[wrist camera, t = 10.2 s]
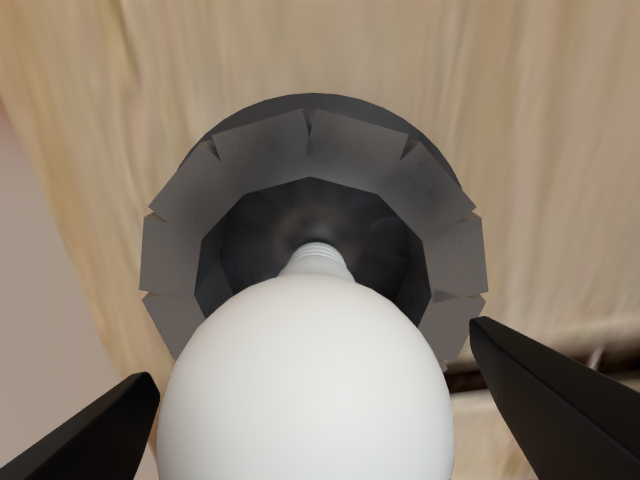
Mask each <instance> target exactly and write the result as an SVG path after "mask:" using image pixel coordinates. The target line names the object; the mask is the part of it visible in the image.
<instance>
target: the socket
mask: <svg viewBox="0 0 640 480" xmlns="http://www.w3.org/2000/svg"><path fill="white" fill-rule="evenodd" d="M148 207H149V208H150V209H152V210H153V211H154V212H153V213H151V214H149V215H147V216H145V217H144V223H143V239H142V255H141V270H140V286H139V290H143V291H148V292H149V293H148V294H147V295H146V296H145V297H144V298H143V299H142V301H143V303H144V305H145V307H146V309H147V310H148V312H149V314H150V316H151V318H152V320H153V321H154V323H155V325H156V327H157V329H158V331H159V332H160V334H161V336H162V338H163V340H164V342H165V343H166V345H167V347H168V349H169V351H170V353H171V354H172V356H173V358H174V359H177V358H179V356H180V354H181V353H182V351H183V349H184V348H185V346H186V345H187V343H188V342H189V340H190V339H191V337H192V335H193V334H194V332H195V331H196V329H197V328H198V327H199V326H200V325H201V324H202V323H203V322H204V321H205V320H206V319H207V318H208V317H209V316H210V315H211V314H212V313H214V312H215V311H216V310H217V309H218V308H219V307H220V306H221V305H223V304H224V303H225V302H226V301H227V300H228V299H230V298H231V297H233V296H235V295H236V294H238V293H240V292H241V291H243V290H244V289H246V288H248V287H250V286H253V285H255V284H258V283H261V282H264V281H266V280H269V279H272V278H276V277H277V276H278V274H279V273H280V272H281V270H282V269H283V268H284V267H285V266H286V265H287V264H288V261H289V259H290V258H291V256H292V254H293V253H294V252H295V251H296V250H297V249H298V248H299V247H301V246H303V245H305V244H308V243H313V242H320V243H325V244H328V245H330V246H332V247H334V248H335V249H336V250H337V251H338V252H339V253H340V254H341V256H342V257H343V259H344V262H345V264H346V267H347V270H348V271H349V272H350V273H351V275H352V276H353V278H354V280H355V283H358V284H360V285H363V286H365V287H368V288H370V289H372V290H374V291H375V292H377V293H378V294H380V295H382V296H383V297H385V298H386V299H388V300H389V301H391V302H392V303H393V304H394V305H395V306H396V307H397V308H398V309H399V310H400V311H401V312H402V313H403V314H404V315H405V316H407V318H408V319H409V320H410V321H411V322H412V323H413V324H414V325H415V326H416V328H417V329H418V330H419V331H420V332H421V334H422V335H423V337H424V338H425V340H426V341H427V343H428V344H429V346H430V348H431V349H432V351H433V353H434V355H435V357H436V359H437V361H438V364H439V366H440V368H441V370H442V373H443V372H444V371H446V370H447V367H446V365H445V363H444V361H443V360H448V361H452V362H455V360H456V358H457V356H458V354H459V352H460V350H461V349H462V347H463V345H464V343H465V341H466V339H467V337H468V335H469V320H470V319H471V318H476V317H478V316H479V314H480V313H481V311H482V309H483V307H484V305H485V303H486V301H485V300H484V299H483V298H482V296H481V295H480V293H484V292H488V283H487V273H486V263H485V252H484V242H483V232H482V221H481V217H479V216H478V215H476V214H475V213H473V212H472V210H473V209H475V208H476V206H475V205H474V203H473V202H472V201H471V200H470V199H469V198H468V196H467V195H466V194H465V193H464V192H463V191H462V188H461V185H460V183H459V181H458V179H457V177H456V175H455V173H454V172H453V170H452V168H451V166H450V165H449V163H448V162H447V160H446V159H445V158H444V156H443V155H442V154H441V152H440V151H439V150H438V148H437V147H436V146H435V145H434V144H433V143H432V142H431V141H430V140H429V139H428V138H427V137H426V136H425V135H424V134H423V133H422V132H420V131H419V130H418V129H416V128H415V127H414V126H412V125H411V124H410V123H408V122H407V121H406V120H404V119H403V118H401V117H399V116H397V115H395V114H394V113H392V112H390V111H388V110H386V109H384V108H382V107H380V106H377V105H374V104H371V103H369V102H366V101H363V100H361V99H356V98H351V97H346V96H342V95H337V94H322V93H305V94H293V95H286V96H281V97H277V98H272V99H268V100H264V101H262V102H259V103H257V104H254V105H251V106H249V107H246V108H244V109H242V110H240V111H238V112H237V113H235V114H233V115H231V116H229V117H228V118H226V119H224V120H223V121H221V122H220V123H219V124H218V125H216V126H215V127H214V128H212V129H211V130H210V131H209V132H207V133H206V134H205V135H204V136H203V137H202V138H201V139H200V140H199V141H198V143H197V144H196V145H195V146H194V147H193V148H192V149H191V150H190V152H189V153H188V154H187V156H186V157H185V159H184V160H183V162H182V163H181V165H180V166H179V168H178V170H177V172H176V173H175V174H174V175H173V177H172V178H171V179H170V180H169V182H168V183H167V184H166V185H165V186H164V188H163V189H162V190H161V191H160V193H159V194H158V195H157V196H156V197H155V199H154V200H153V201H152V202H151V204H150V205H149V206H148Z"/></svg>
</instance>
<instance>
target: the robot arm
mask: <svg viewBox="0 0 640 480" xmlns="http://www.w3.org/2000/svg"><path fill="white" fill-rule="evenodd" d="M469 334H470V346H471V350H472V353H473V355H474V357H475V360H476V362H477V364H478V366H479V369H480V371H481V373H482V375H483V377H484V380H485V382H486V384H487V386H488V388H489V391H490V393H491V395H492V397H493V399H494V402H495V404H496V406H497V408H498V410H499V412H500V413H501V415H502V417H503V419H504V421H505V422H506V424H507V426H508V427H509V429H510V431H511V432H512V434H513V436H514V438H515V439H516V441H517V443H518V444H519V446H520V448H521V450H522V451H523V453H524V455H525V456H526V458H527V460H528V461H529V463H530V465H531V467H532V468H533V470H534V472H535V473H536V475H537V477H538V479H539V480H640V393H639V392H637V391H635V390H633V389H631V388H629V387H627V386H625V385H623V384H621V383H619V382H617V381H615V380H613V379H611V378H609V377H607V376H605V375H603V374H601V373H599V372H597V371H595V370H593V369H591V368H589V367H587V366H585V365H583V364H581V363H579V362H577V361H575V360H573V359H571V358H569V357H567V356H565V355H563V354H561V353H559V352H557V351H555V350H553V349H551V348H549V347H547V346H545V345H543V344H541V343H539V342H537V341H535V340H533V339H531V338H529V337H527V336H525V335H523V334H521V333H519V332H517V331H515V330H513V329H511V328H509V327H507V326H505V325H503V324H501V323H499V322H497V321H495V320H493V319H491V318H489V317H487V316H482V317H476V318H471V319H470V320H469ZM159 402H160V392H159V390H158V388H157V386H156V384H155V383H154V381H153V379H152V377H151V375H150V374H149V373H148V372H140V373H135V374H132V375H130V376H129V377H127V378H126V379H125V380H123V381H122V382H120V383H119V384H118V385H116V386H115V387H113V388H112V389H111V390H109V391H108V392H106V393H105V394H104V395H102V396H101V397H99V398H98V399H97V400H95V401H94V402H92V403H91V404H90V405H88V406H87V407H85V408H84V409H83V410H82V411H80V412H78V413H77V414H76V415H74V416H73V417H72V418H70V419H69V420H67V421H66V422H65V423H63V424H62V425H60V426H59V427H58V428H56V429H55V430H53V431H52V432H51V433H49V434H48V435H46V436H45V437H44V438H42V439H41V440H40V441H38V442H37V443H35V444H34V445H33V446H31V447H30V448H28V449H27V450H25V451H24V452H23V453H21V454H20V455H19V456H17V457H16V458H14V459H13V460H12V461H10V462H9V463H7V464H6V465H5V466H3V467H2V468H0V480H133V479H134V477H135V474H136V472H137V469H138V467H139V464H140V461H141V459H142V456H143V453H144V450H145V447H146V444H147V441H148V438H149V435H150V431H151V428H152V425H153V422H154V419H155V415H156V412H157V409H158V406H159Z"/></svg>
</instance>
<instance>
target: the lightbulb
mask: <svg viewBox="0 0 640 480" xmlns="http://www.w3.org/2000/svg"><path fill="white" fill-rule="evenodd" d="M156 460H157V467H158V475H159V480H451V475H452V471H453V467H454V423H453V412H452V407H451V401H450V396H449V391H448V388H447V385H446V382H445V379H444V376H443V373H442V370H441V368H440V366H439V364H438V361H437V359H436V357H435V355H434V353H433V351H432V349H431V348H430V346H429V344H428V343H427V341H426V340H425V338H424V337H423V335H422V334H421V332H420V331H419V330H418V329H417V328H416V326H415V325H414V324H413V323H412V322H411V321H410V320H409V319H408V318H407V316H405V315H404V314H403V313H402V312H401V311H400V310H399V309H398V308H397V307H396V306H395V305H394V304H393V303H392V302H391V301H389V300H388V299H386V298H385V297H383V296H382V295H380V294H378V293H377V292H375V291H374V290H372V289H370V288H368V287H365V286H363V285H360V284H358V283H355V280H354V278H353V276H352V275H351V273H350V272H349V271H348V270H347V267H346V264H345V262H344V259H343V257H342V256H341V254H340V253H339V252H338V251H337V250H336V249H335V248H334V247H332V246H330V245H328V244H325V243H320V242H313V243H308V244H305V245H303V246H301V247H299V248H298V249H297V250H296V251H295V252H294V253H293V254H292V256H291V258H290V259H289V261H288V264H287V265H286V266H285V267H284V268H283V269H282V270H281V272H280V273H279V274H278V276H277V277H276V278H272V279H269V280H266V281H264V282H261V283H258V284H255V285H253V286H250V287H248V288H246V289H244V290H243V291H241V292H240V293H238V294H236V295H235V296H233V297H231V298H230V299H228V300H227V301H226V302H225V303H224V304H223V305H221V306H220V307H219V308H218V309H217V310H216V311H215V312H214V313H212V314H211V315H210V316H209V317H208V318H207V319H206V320H205V321H204V322H203V323H202V324H201V325H200V326H199V327H198V328H197V329H196V331H195V332H194V334H193V335H192V337H191V339H190V340H189V342H188V343H187V345H186V346H185V348H184V349H183V351H182V353H181V354H180V356H179V358H178V359H177V361H176V362H175V364H174V367H173V370H172V373H171V376H170V379H169V382H168V385H167V388H166V392H165V395H164V398H163V401H162V404H161V407H160V413H159V421H158V429H157V440H156Z"/></svg>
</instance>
